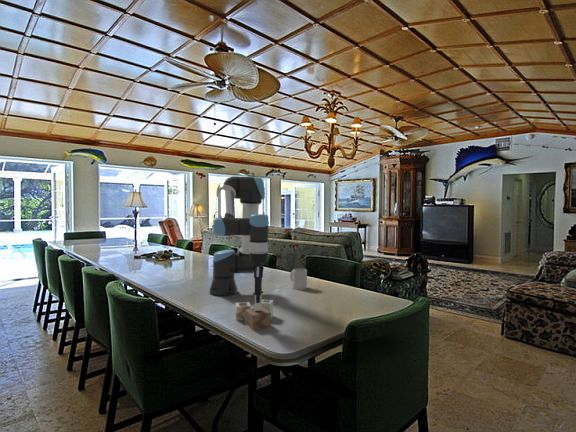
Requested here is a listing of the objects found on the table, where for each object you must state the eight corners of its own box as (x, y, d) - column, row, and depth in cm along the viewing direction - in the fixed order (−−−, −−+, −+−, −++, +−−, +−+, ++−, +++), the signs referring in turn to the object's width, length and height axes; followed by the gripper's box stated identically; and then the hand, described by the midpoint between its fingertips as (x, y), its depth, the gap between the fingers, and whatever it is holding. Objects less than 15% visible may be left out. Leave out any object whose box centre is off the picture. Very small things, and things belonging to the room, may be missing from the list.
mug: (309, 288, 203) (310, 269, 203) (299, 290, 197) (299, 271, 197) (295, 284, 212) (295, 267, 211) (285, 286, 206) (285, 268, 206)
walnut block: (252, 330, 134) (252, 315, 134) (244, 324, 141) (245, 309, 141) (270, 327, 138) (271, 312, 138) (262, 321, 145) (262, 307, 145)
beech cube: (236, 320, 145) (236, 306, 145) (235, 316, 151) (235, 302, 151) (250, 320, 146) (250, 305, 146) (249, 315, 152) (249, 301, 152)
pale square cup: (258, 318, 148) (258, 302, 148) (262, 315, 153) (262, 299, 152) (269, 319, 147) (270, 303, 146) (273, 316, 152) (273, 299, 151)
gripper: (267, 254, 132) (266, 315, 133) (268, 250, 145) (267, 305, 146) (248, 254, 132) (247, 315, 133) (250, 250, 145) (250, 305, 146)
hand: (257, 309), depth 139 cm, fingers closed
